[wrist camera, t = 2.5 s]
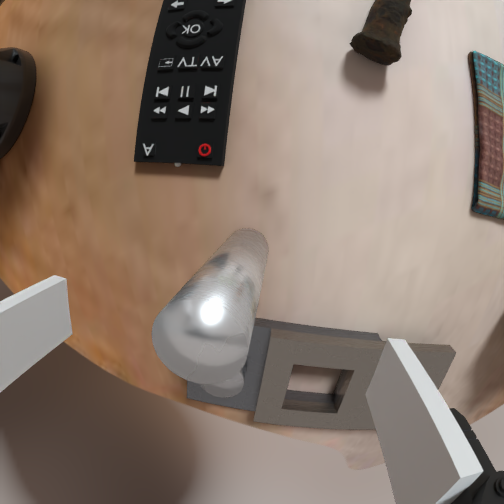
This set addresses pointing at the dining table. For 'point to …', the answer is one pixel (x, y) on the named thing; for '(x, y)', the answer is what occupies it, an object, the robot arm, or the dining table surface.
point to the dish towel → (488, 134)
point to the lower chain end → (249, 378)
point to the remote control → (190, 83)
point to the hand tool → (383, 31)
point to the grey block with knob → (338, 357)
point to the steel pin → (214, 312)
